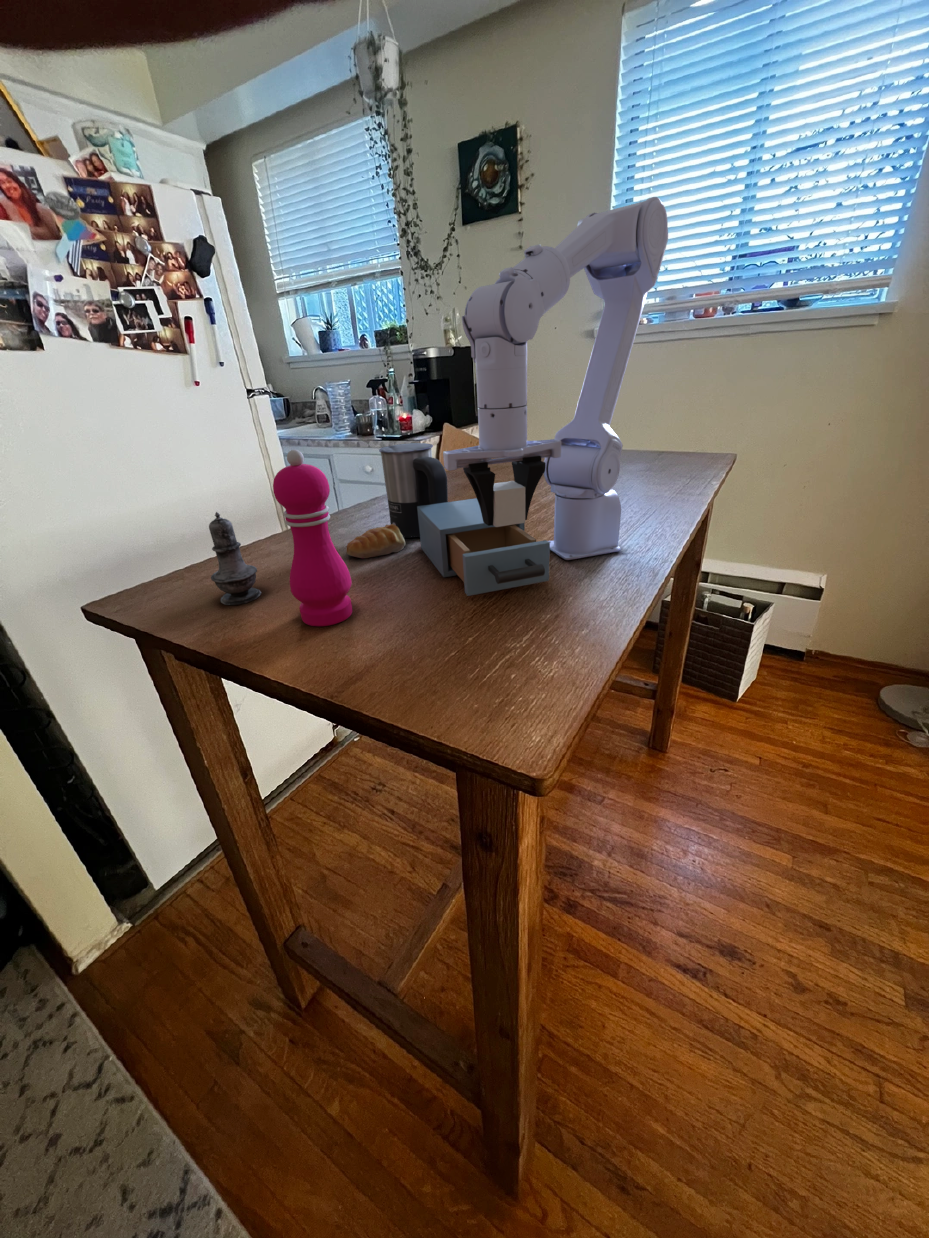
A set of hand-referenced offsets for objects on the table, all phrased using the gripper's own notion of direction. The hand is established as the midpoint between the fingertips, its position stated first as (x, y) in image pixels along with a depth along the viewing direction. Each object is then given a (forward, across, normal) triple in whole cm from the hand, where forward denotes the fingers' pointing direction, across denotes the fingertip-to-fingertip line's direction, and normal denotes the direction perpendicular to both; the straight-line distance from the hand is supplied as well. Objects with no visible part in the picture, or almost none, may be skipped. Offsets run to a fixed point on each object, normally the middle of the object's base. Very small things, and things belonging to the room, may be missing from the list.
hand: (504, 521), depth 64 cm
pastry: (+9, -14, +22) cm, 27 cm away
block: (0, 0, 0) cm, 0 cm away
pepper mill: (+9, -24, 0) cm, 26 cm away
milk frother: (+9, -2, +30) cm, 31 cm away
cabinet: (+9, -1, +13) cm, 15 cm away
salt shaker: (+9, -35, +11) cm, 38 cm away
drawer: (+8, -1, +1) cm, 8 cm away
